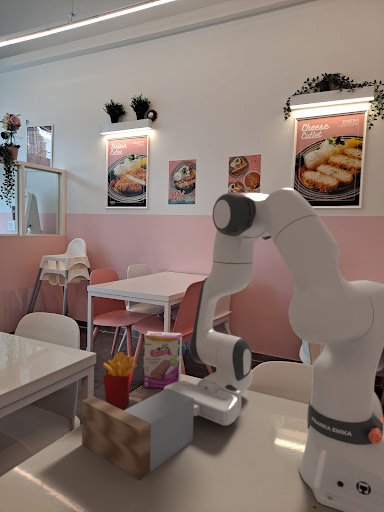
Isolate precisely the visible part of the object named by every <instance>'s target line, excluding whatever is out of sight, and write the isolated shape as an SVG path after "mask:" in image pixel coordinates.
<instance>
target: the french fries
mask: <svg viewBox="0 0 384 512" xmlns="http://www.w3.org/2000/svg"><path fill="white" fill-rule="evenodd" d="M135 360H136V358H135V357H134V356H131V355H125V353H124V352H123V351H119V352H116V353H115V355H114V357H113V359H112V360H110V359H108V360H107V362H108V363H106V362H103V365H102V367H103V368H104V369H106V371H105V372H104V374H103V387H104V395H105V397H104V398H105V402H107V403H109V404H111V405H113V406H115V407H117V408H119V409H121V410H123V411H124V410H126V409H128V406H129V401H130V400H129V399H130V392H131V382H132V371H133V370H134V369H135V368H136V367H137V366H138V365H137V364H136V363H134V362H135Z"/></svg>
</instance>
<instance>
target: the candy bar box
mask: <svg viewBox="0 0 384 512" xmlns="http://www.w3.org/2000/svg"><path fill="white" fill-rule="evenodd" d="M182 338H183V334H182V333H180V332H166V331H164V332H163V331H154V330H153V331H151V330H147V331H146V332H145V333H144V335H143V350H142V351H143V352H142V353H143V355H142V357H143V359H142V361H143V362H142V368H143V369H142V388H144V389H145V388H146V389H148V388H149V389H150V388H151V389H161V390H164V387H165V386H167V385H169V384H172V383H175V382H178V381H182V380H181V378H182V376H181V375H182V374H181V372H182V371H181V370H182V369H181V368H182V347H183V345H182V344H183V343H182V342H183V341H182V340H183V339H182Z"/></svg>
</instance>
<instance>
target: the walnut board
mask: <svg viewBox="0 0 384 512" xmlns="http://www.w3.org/2000/svg"><path fill="white" fill-rule="evenodd" d="M81 417H82V418H81V441H82V442H81V443H82V445H83V446H84V447H85V448H87V449H89V450H90V451H91V452H93V453H95V454H97V455H99V456H100V457H101V458H103V459H105V460H106V461H108V462H109V463H111V464H112V465H114V466H116V467H118V468H119V469H121V470H122V471H124V472H125V473H127V474H128V475H130V476H132V477H134V478H135V479H137V480H138V481H140V480H141V479H142V478H144V477H145V476H147V475H148V474H149V473H151V472H150V444H151V423H148V422H146V421H144V420H142V419H140V418H138V417H136V416H134V415H132V414H130V413H128V412H126V411H123V410H121V409H119V408H117V407H115V406H113V405H111V404H109V403H107V402H106V400H102V399H100V398H98V397H97V396H94V395H92V396H91V397H88V398H86V399H83V400H81Z"/></svg>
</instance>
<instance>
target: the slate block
mask: <svg viewBox="0 0 384 512" xmlns="http://www.w3.org/2000/svg"><path fill="white" fill-rule="evenodd" d="M124 411H126V412H128V413H130V414H132V415H134V416H136V417H138V418H140V419H142V420H144V421H146V422H148V423H151V444H150V472H149V473H151V472H153V471H154V470H155V469H156V468H158V467H159V466H160V465H162V464H163V463H165V462H166V461H168V459H170V458H171V457H173V456H174V455H175V454H177V453H178V452H179V451H181V450H182V449H183V448H184V447H186V446H187V445H189V444H190V443H191V442H193V441H194V416H193V414H194V398H192V397H189V396H186V395H184V394H181V393H179V392H176V391H173V390H171V389H168V388H167V389H165V390H164V389H162V390H161V391H160V392H157V393H155V394H153V395H151V396H150V397H147V398H145V399H144V400H141V401H140V402H138V403H136V404H134V405H132V406H129V407H127V408H126V410H124Z"/></svg>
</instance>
